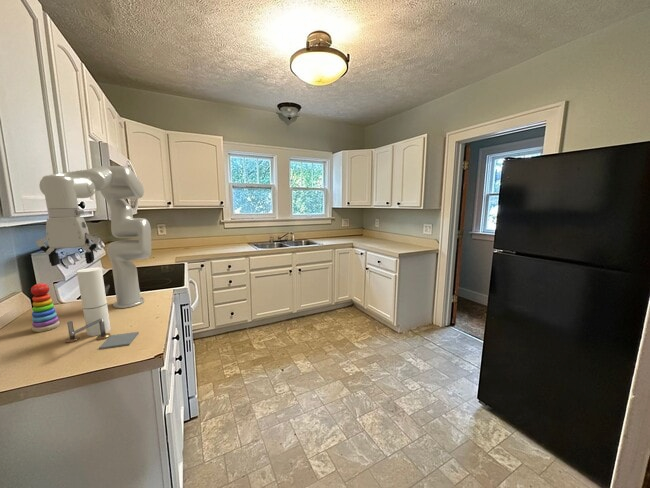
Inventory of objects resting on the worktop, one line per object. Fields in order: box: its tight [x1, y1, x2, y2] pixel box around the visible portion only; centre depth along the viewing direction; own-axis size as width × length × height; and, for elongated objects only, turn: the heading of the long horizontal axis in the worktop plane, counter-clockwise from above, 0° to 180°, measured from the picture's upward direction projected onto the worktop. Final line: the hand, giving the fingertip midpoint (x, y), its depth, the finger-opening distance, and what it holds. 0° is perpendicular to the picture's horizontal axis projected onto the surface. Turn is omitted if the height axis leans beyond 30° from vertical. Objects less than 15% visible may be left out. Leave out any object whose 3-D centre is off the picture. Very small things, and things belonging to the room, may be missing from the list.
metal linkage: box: [65, 319, 112, 344], centre depth 96 cm, size 14×14×8 cm
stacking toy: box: [30, 282, 61, 333], centre depth 108 cm, size 8×8×19 cm
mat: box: [98, 331, 140, 350], centre depth 99 cm, size 9×9×1 cm
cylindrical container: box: [76, 266, 112, 337], centre depth 104 cm, size 7×7×25 cm
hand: (73, 263), depth 93 cm, fingers open, 9 cm apart
